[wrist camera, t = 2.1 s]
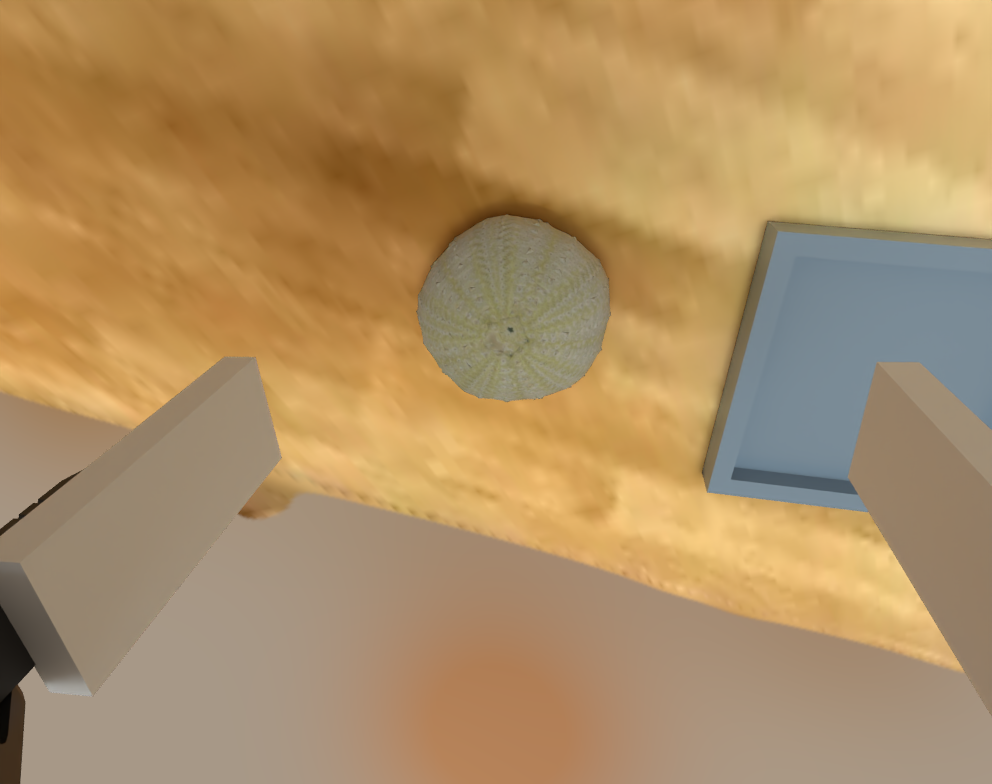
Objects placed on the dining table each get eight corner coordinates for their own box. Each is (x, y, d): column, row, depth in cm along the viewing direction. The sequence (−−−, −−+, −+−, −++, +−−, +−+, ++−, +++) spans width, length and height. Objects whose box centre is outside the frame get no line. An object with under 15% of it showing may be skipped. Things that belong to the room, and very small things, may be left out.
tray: (702, 472, 35) (707, 492, 33) (767, 221, 28) (778, 231, 26) (967, 504, 33) (985, 526, 32) (1104, 248, 27) (1135, 260, 25)
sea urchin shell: (368, 287, 30) (438, 267, 23) (482, 205, 33) (574, 166, 26) (467, 430, 33) (554, 450, 27) (564, 344, 36) (664, 342, 29)
